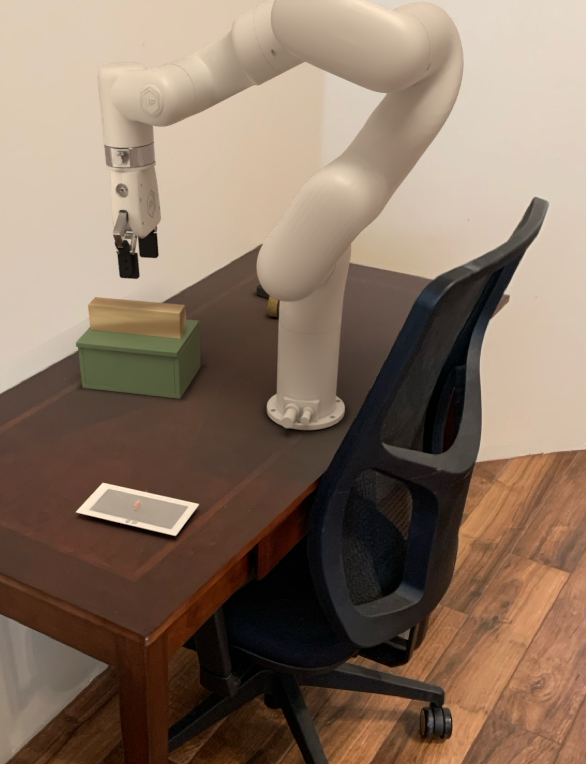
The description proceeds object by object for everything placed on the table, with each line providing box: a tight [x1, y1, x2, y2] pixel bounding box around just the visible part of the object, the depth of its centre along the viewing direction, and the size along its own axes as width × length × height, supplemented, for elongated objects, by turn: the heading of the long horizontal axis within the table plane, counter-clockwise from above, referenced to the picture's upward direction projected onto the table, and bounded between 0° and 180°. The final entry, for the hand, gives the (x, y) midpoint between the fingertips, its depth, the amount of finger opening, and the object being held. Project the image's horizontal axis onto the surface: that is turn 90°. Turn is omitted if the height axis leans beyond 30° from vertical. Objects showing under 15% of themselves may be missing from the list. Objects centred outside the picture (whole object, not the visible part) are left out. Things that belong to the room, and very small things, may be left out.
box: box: [77, 325, 202, 400], centre depth 155 cm, size 13×18×8 cm
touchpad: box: [75, 482, 200, 537], centre depth 123 cm, size 8×15×2 cm, turn 67°
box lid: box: [75, 318, 200, 357], centre depth 152 cm, size 13×18×1 cm
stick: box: [87, 296, 187, 339], centre depth 151 cm, size 4×16×4 cm, turn 75°
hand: (139, 267), depth 146 cm, fingers open, 9 cm apart
